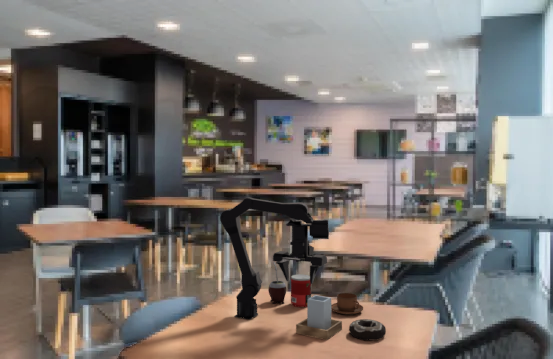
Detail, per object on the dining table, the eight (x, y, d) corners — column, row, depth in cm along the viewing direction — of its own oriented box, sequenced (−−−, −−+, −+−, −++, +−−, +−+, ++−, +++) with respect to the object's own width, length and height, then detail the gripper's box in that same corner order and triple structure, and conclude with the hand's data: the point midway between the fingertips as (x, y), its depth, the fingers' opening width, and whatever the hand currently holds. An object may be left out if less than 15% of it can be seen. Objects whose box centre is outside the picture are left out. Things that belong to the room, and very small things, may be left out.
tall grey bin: (307, 330, 161) (307, 299, 161) (314, 325, 166) (315, 295, 166) (323, 334, 158) (324, 301, 158) (331, 329, 163) (331, 297, 162)
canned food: (309, 308, 187) (310, 279, 187) (289, 306, 189) (289, 278, 189) (312, 302, 195) (312, 274, 194) (292, 301, 197) (292, 273, 196)
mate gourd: (280, 306, 190) (280, 267, 190) (263, 302, 194) (263, 264, 194) (290, 301, 196) (290, 264, 196) (273, 298, 201) (273, 261, 200)
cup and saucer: (368, 310, 186) (368, 294, 185) (355, 319, 175) (355, 302, 175) (339, 305, 192) (339, 289, 192) (325, 313, 182) (325, 296, 182)
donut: (383, 344, 152) (383, 331, 152) (345, 339, 156) (345, 327, 156) (387, 331, 163) (388, 319, 163) (352, 327, 167) (352, 315, 167)
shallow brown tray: (296, 333, 160) (296, 324, 160) (312, 323, 170) (312, 315, 170) (327, 340, 154) (327, 331, 154) (341, 329, 164) (342, 321, 164)
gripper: (332, 237, 177) (332, 280, 178) (285, 233, 185) (285, 274, 186) (321, 241, 167) (321, 287, 168) (272, 237, 175) (271, 281, 176)
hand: (299, 282), depth 174 cm, fingers open, 9 cm apart
